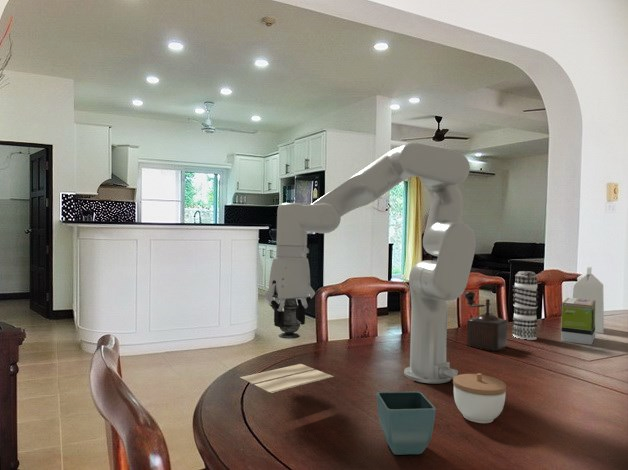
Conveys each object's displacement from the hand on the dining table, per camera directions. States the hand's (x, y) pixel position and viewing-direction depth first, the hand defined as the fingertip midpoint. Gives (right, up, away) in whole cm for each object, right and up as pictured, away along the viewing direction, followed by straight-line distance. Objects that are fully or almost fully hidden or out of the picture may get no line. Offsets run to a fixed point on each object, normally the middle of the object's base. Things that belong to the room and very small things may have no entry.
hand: (289, 324), depth 115 cm
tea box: (+106, -17, +59) cm, 123 cm away
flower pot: (+22, -17, -31) cm, 42 cm away
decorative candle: (+86, -17, +60) cm, 107 cm away
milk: (+121, -17, +78) cm, 145 cm away
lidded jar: (+41, -17, -16) cm, 47 cm away
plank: (+1, -15, +1) cm, 16 cm away
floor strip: (-3, -15, +7) cm, 17 cm away
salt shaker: (0, -3, 0) cm, 3 cm away
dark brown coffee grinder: (+65, -17, +47) cm, 82 cm away
